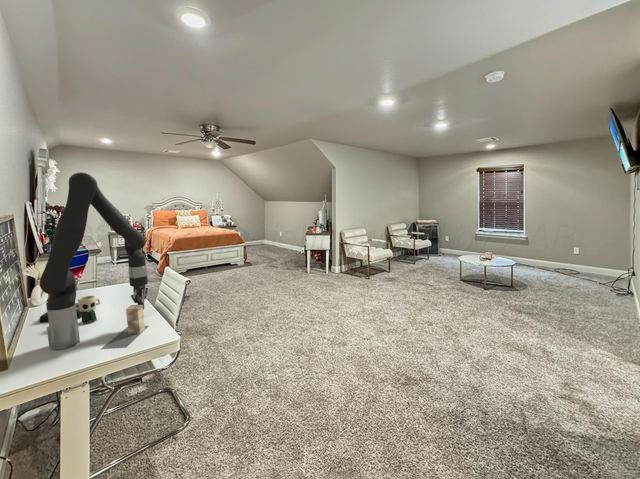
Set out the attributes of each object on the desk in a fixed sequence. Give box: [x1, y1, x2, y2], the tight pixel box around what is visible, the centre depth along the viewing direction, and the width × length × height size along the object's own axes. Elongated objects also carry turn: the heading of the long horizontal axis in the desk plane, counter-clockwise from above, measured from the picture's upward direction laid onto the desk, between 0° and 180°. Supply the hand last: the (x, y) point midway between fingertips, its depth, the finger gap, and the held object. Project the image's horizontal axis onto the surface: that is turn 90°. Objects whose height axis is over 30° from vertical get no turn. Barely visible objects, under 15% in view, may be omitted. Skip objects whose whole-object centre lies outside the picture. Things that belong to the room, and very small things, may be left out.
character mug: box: [75, 295, 101, 324], centre depth 152 cm, size 11×7×13 cm, turn 141°
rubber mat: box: [100, 325, 149, 350], centre depth 134 cm, size 10×22×1 cm, turn 7°
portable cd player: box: [38, 305, 83, 324], centre depth 162 cm, size 16×17×4 cm
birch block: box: [125, 304, 146, 334], centre depth 139 cm, size 5×5×12 cm
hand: (141, 309), depth 145 cm, fingers closed
